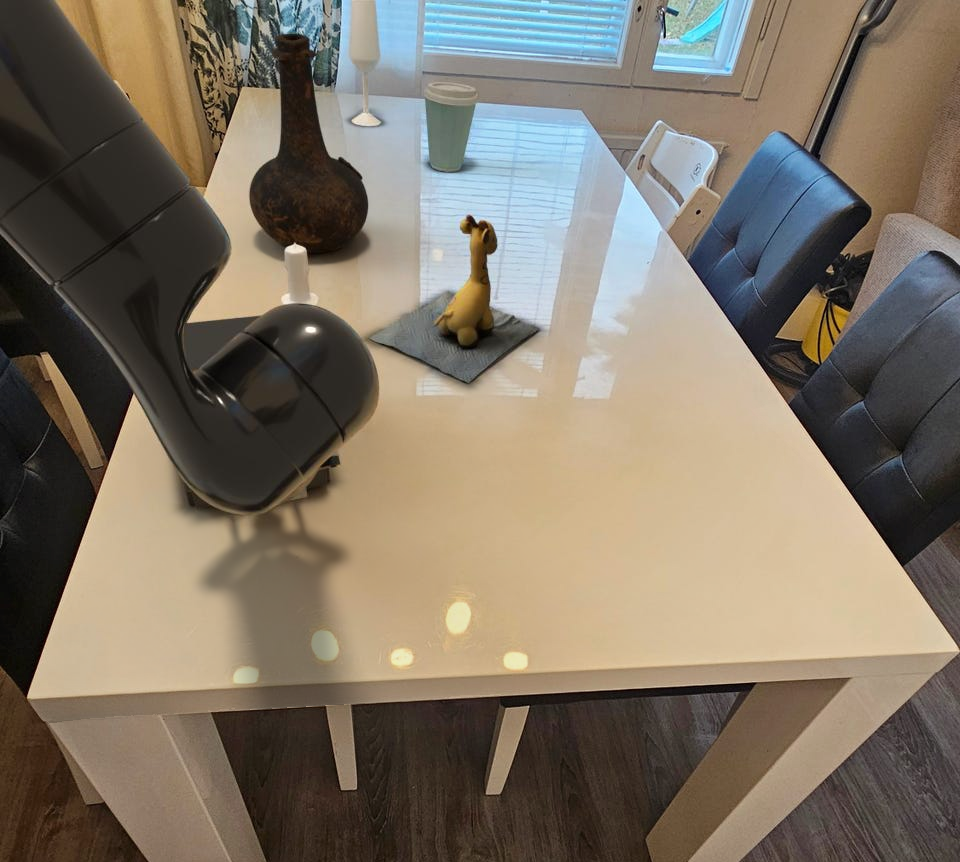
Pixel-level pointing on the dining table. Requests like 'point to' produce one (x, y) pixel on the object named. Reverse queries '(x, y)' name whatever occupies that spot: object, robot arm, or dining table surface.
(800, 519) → the dining table surface
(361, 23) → the champagne flute
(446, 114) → the disposable coffee cup
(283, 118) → the glass bottle
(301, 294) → the candle
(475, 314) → the stuffed giraffe
